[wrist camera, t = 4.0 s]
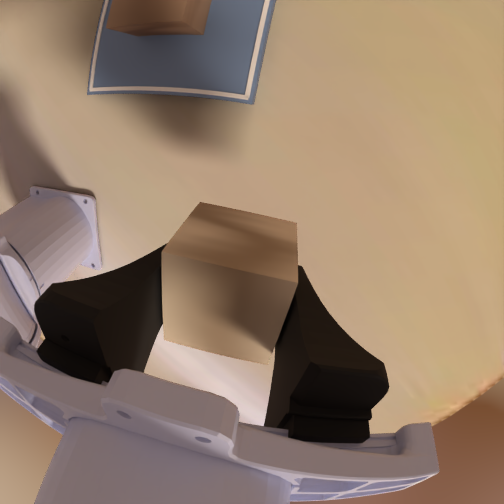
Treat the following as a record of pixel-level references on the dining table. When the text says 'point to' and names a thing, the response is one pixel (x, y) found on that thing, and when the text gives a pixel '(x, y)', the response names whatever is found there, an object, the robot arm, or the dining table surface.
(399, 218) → the dining table surface
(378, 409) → the dining table surface
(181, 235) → the maple block
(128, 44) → the board
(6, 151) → the dining table surface
